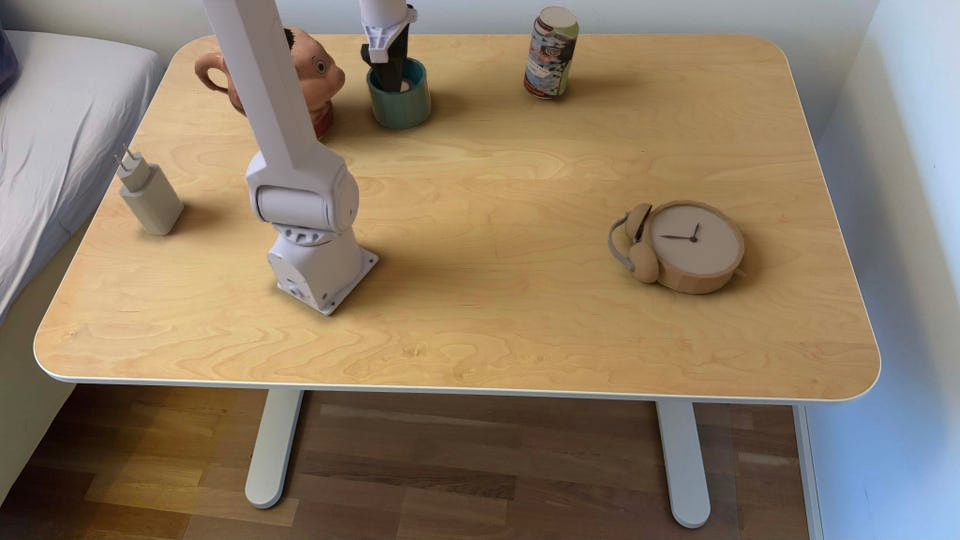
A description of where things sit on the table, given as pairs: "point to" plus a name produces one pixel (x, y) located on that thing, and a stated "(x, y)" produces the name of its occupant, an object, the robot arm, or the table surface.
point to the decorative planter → (312, 70)
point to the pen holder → (401, 98)
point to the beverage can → (551, 52)
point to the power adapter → (148, 194)
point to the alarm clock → (681, 246)
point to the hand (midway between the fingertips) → (396, 75)
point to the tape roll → (406, 84)
